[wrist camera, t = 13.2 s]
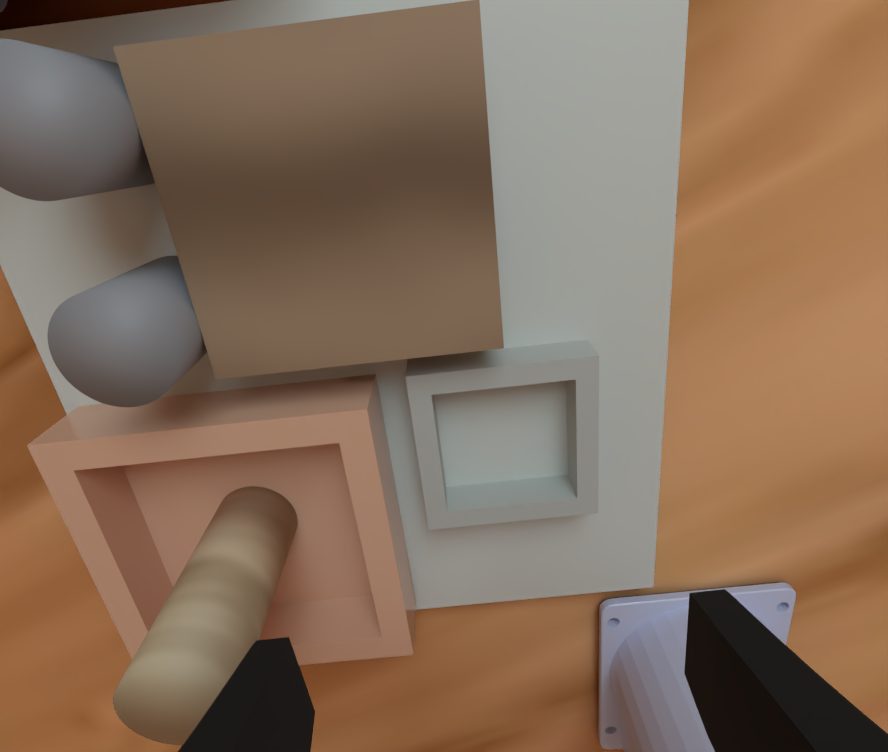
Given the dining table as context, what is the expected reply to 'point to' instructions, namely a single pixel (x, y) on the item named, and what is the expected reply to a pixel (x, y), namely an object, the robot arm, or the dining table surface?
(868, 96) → the dining table surface
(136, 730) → the dowel
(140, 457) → the tray
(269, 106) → the square tan tile
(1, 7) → the mineral
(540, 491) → the jig board
